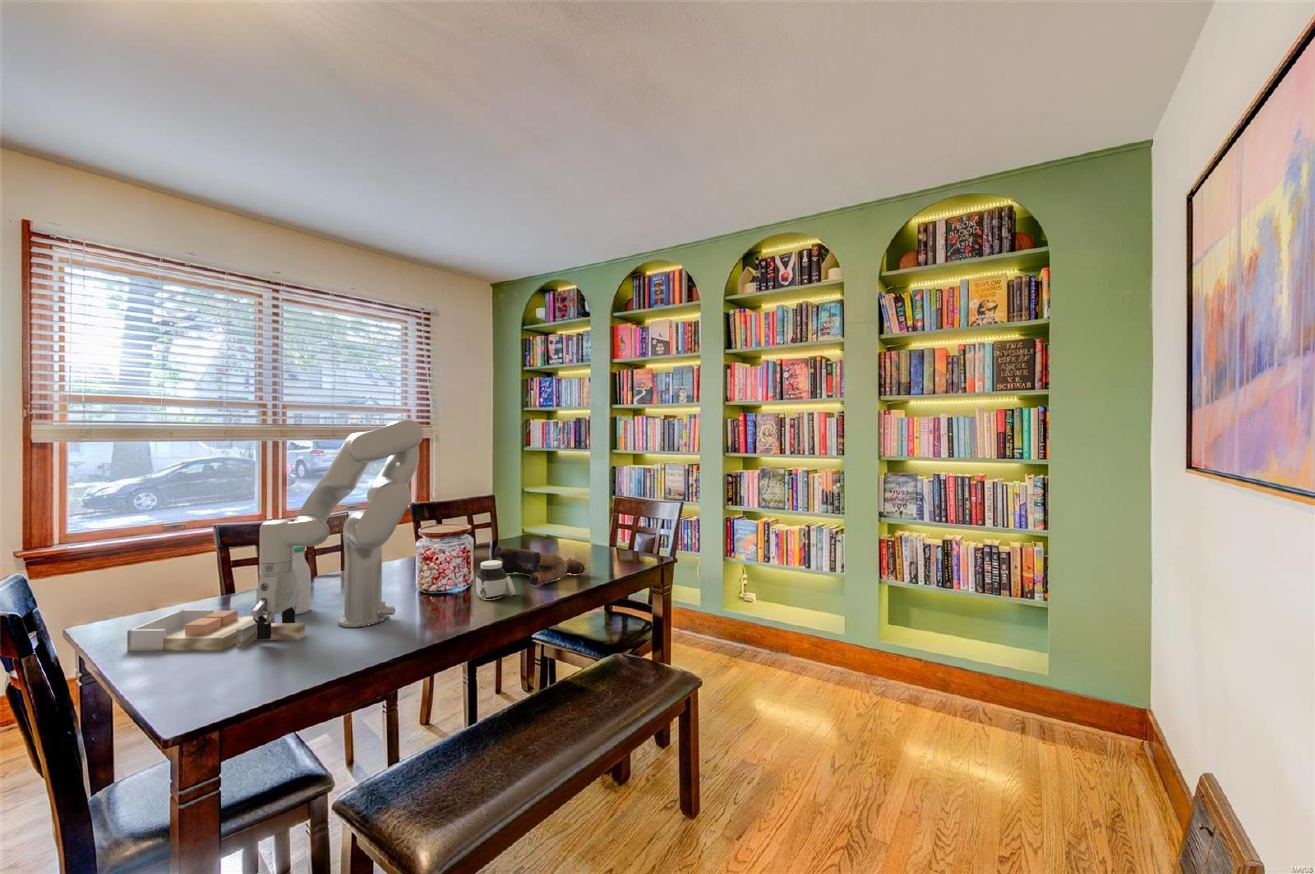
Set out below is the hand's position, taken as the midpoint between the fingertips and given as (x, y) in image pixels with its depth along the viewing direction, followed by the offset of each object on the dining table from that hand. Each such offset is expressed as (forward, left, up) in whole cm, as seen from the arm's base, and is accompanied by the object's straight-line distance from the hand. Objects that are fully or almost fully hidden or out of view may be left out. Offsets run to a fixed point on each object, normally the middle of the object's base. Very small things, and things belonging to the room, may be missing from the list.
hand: (276, 631), depth 142 cm
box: (+26, 0, -1) cm, 27 cm away
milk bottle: (+8, -21, -2) cm, 23 cm away
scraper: (-1, 0, -2) cm, 2 cm away
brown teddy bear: (-58, -61, -2) cm, 84 cm away
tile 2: (+16, -3, +2) cm, 17 cm away
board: (+15, 0, -1) cm, 15 cm away
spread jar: (-49, -35, -2) cm, 60 cm away
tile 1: (+16, +3, +2) cm, 17 cm away
